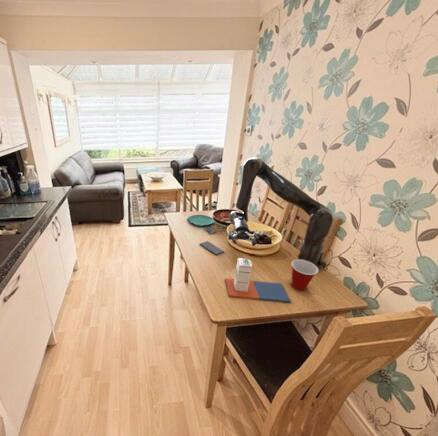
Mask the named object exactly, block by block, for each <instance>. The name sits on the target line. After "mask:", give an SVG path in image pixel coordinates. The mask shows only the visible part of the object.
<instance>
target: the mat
mask: <svg viewBox="0 0 438 436" xmlns="http://www.w3.org/2000/svg"><path fill="white" fill-rule="evenodd" d="M224 281H225V284H226V288H227V293H228V297H229V298H238V299H239V298H240V299H247V300H248V299H249V300H258V301H267V302H268V301H269V302H278V303H289V304H291V302H292V301H291V299H290V297H289V295H288V293H287V292H286V290H285V288H284V286H283V284H282V283H281V282H280V283H279V282H269V281H257V280H250V282H249V287H248V291H247V292H244V291H237V290H235V287H234V279H233V278H225V280H224Z"/></svg>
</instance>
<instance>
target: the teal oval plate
mask: <svg viewBox="0 0 438 436" xmlns="http://www.w3.org/2000/svg"><path fill="white" fill-rule="evenodd" d="M213 219H214V218H213V217H211V216H208V215H205V214H194V215H189V216H188V217H187V218H186V220H187V221H188V222H189V223H190V224H191V225H195V226H196V227H203V230H205V232H207V234H215V233H216V232H222V231H226V230H227V229H226V228H224V226H218V225H215V224H216V221H215V222H214V221H213ZM212 225H215V226H212ZM207 226H209V227H207ZM218 229H219V230H218Z"/></svg>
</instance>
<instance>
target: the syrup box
mask: <svg viewBox="0 0 438 436" xmlns="http://www.w3.org/2000/svg"><path fill="white" fill-rule="evenodd" d="M252 271H253V264H252V261H251V258H245V257H238V258H237V260H236V266H235V271H234V272H235V273H234V287H235V290H237V291H244V292H247V291H248V287H249V282H250V281H251V276H252Z"/></svg>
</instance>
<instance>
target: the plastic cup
mask: <svg viewBox="0 0 438 436" xmlns="http://www.w3.org/2000/svg"><path fill="white" fill-rule="evenodd" d="M297 259H298V258H297ZM297 259H293V260H291V263H290V265H291V286H292V288H294V289H295V290H298V291H305V290H306V289H307V288H308V286H309V284H310V283H311V281H312V280H313V278H314V277H315V275H317V274H318V273H319V267H318V268H317V266H315V265H314V264H313V263H311V262H309V261H305V260H299V259H298V260H297Z"/></svg>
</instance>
